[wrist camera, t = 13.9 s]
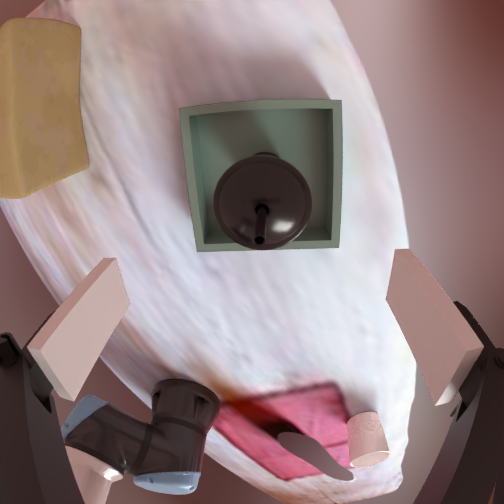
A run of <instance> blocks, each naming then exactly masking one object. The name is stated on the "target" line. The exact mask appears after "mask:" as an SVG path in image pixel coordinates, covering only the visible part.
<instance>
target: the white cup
mask: <svg viewBox="0 0 504 504" xmlns="http://www.w3.org/2000/svg"><path fill="white" fill-rule="evenodd" d="M347 426H348V447H349V458H350V465H351V466H352V467H366V466H371V465H374V464H377V463H379V462H381V461H383V460H385V459H387V458H388V457H389V456H390V451H389V447H388V444H387V440H386V436H385V433H384V430H383V427H382V425H381V422H380V419H379V415H378V414H377V413H376V412H371V411H369V412H362V413H359V414H357V415H355V416H353V417H351V418H350V419H349V420H348V422H347Z"/></svg>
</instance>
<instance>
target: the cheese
mask: <svg viewBox="0 0 504 504" xmlns="http://www.w3.org/2000/svg"><path fill="white" fill-rule="evenodd" d="M80 50H81V29H80V27H78V26H75V25H72V24H68V23H65V22H61V21H57V20H52V19H44V18H13V19H10V20H8V21H6V22H5V23H4V24H3V25H2V26H1V28H0V198H10V199H20V198H24V197H26V196H28V195H30V194H32V193H34V192H36V191H38V190H40V189H42V188H45V187H47V186H49V185H51V184H53V183H55V182H57V181H59V180H62V179H64V178H66V177H68V176H71V175H73V174H75V173H78V172H80V171H82V170H85V169H87V168H88V167H89V159H88V154H87V149H86V144H85V138H84V132H83V126H82V119H81V111H80V100H79V77H80Z"/></svg>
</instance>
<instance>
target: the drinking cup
mask: <svg viewBox="0 0 504 504" xmlns="http://www.w3.org/2000/svg"><path fill="white" fill-rule="evenodd" d="M213 210H214V214H215V218H216V220H217V222H218V224H219V226H220V228H221V229H222V230H223V232H224V233H225V234H226V235H227V236H228V237H229V238H230V239H232V240H233V241H234V242H236V243H238V244H239V245H242V246H244V247H247V248H250V249H255V250H272V249H276V248H280V247H282V246H285V245H287V244H289V243H290V242H292V241H293V240H295V239H296V238H297V237H298V236H299V235H300V234H301V233H302V232H303V230H304V229H305V227H306V226H307V224H308V222H309V219H310V216H311V212H312V195H311V191H310V188H309V185H308V183H307V181H306V179H305V178H304V176H303V175H302V174H301V173H300V171H299V170H298V169H297V168H296V167H294V166H293V165H292V164H290V163H289V162H287V161H285V160H283V159H280V158H279V157H278V156H277V155H275V154H273V153H270V152H259V153H256V154H254V155H253V156H251V157H247V158H244V159H242V160H240V161H238V162H236V163H234V164H233V165H232V166H230V167H229V168H228V169H227V170H226V171H225V172H224V173H223V175H222V176H221V177H220V179H219V181H218V183H217V185H216V187H215V191H214V195H213Z"/></svg>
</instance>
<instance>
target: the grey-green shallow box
mask: <svg viewBox="0 0 504 504" xmlns="http://www.w3.org/2000/svg"><path fill="white" fill-rule="evenodd" d="M179 113H180V124H181V134H182V144H183V153H184V162H185V170H186V178H187V186H188V194H189V201H190V209H191V216H192V223H193V229H194V236H195V243H196V249H197V252H215V251H248V250H255V249H250V248H247V247H244V246H242V245H239V244H238V243H236V242H234V241H233V240H232V239H230V238H229V237H228V236H227V235H226V234H225V233H224V232H223V230H222V229H221V228H220V226H219V224H218V222H217V220H216V218H215V214H214V210H213V195H214V191H215V187H216V185H217V183H218V181H219V179H220V177H221V176H222V175H223V173H224V172H225V171H226V170H227V169H228V168H229V167H230V166H232V165H233V164H234V163H236V162H238V161H240V160H242V159H244V158H247V157H251V156H253V155H254V154H256V153H259V152H270V153H273V154H275V155H277V156H278V157H279V158H280V159H283V160H285V161H287V162H289V163H290V164H292V165H293V166H294V167H296V168H297V169H298V170H299V171H300V173H301V174H302V175H303V176H304V178H305V179H306V181H307V183H308V185H309V188H310V191H311V195H312V212H311V216H310V219H309V222H308V224H307V226H306V227H305V229H304V230H303V232H302V233H301V234H300V235H299V236H298V237H297V238H296V239H295V240H293V241H292V242H290V243H289V244H287V245H285V246H282V247H280V248H276V249H272V250H282V249H316V248H339V241H340V224H341V204H342V166H343V135H342V100H328V99H274V100H253V101H238V102H227V103H217V104H208V105H199V106H192V107H185V108H179Z"/></svg>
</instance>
